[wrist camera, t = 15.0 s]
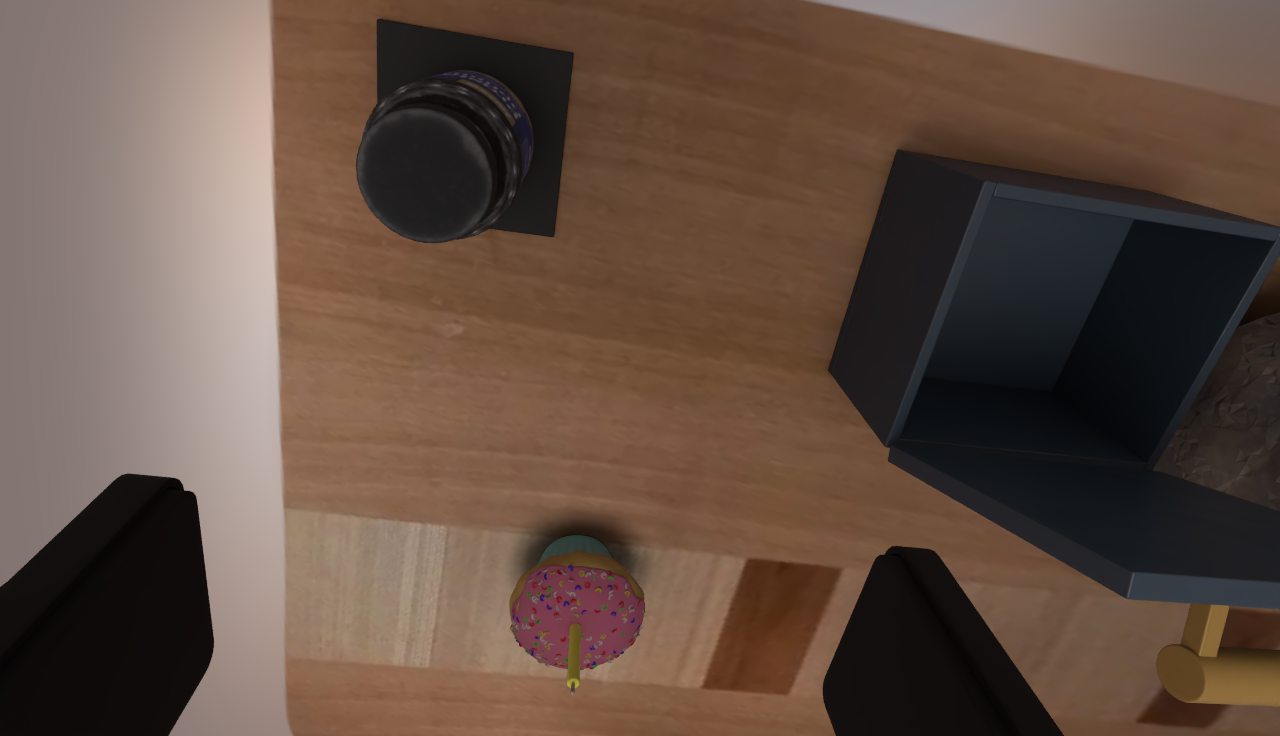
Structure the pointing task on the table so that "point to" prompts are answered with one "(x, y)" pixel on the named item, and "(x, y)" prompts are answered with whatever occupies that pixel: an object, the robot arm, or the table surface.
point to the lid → (1138, 550)
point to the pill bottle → (445, 156)
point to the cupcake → (576, 607)
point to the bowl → (1235, 420)
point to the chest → (1041, 312)
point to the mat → (519, 67)
